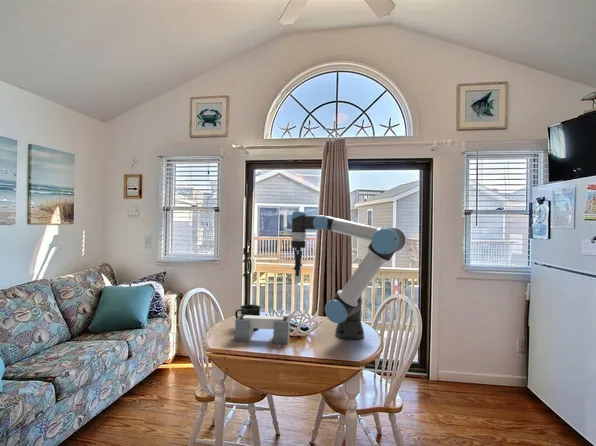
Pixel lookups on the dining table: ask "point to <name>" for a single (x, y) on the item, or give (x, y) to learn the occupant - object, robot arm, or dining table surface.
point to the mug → (249, 311)
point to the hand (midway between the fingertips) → (297, 280)
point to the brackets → (245, 332)
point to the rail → (262, 321)
